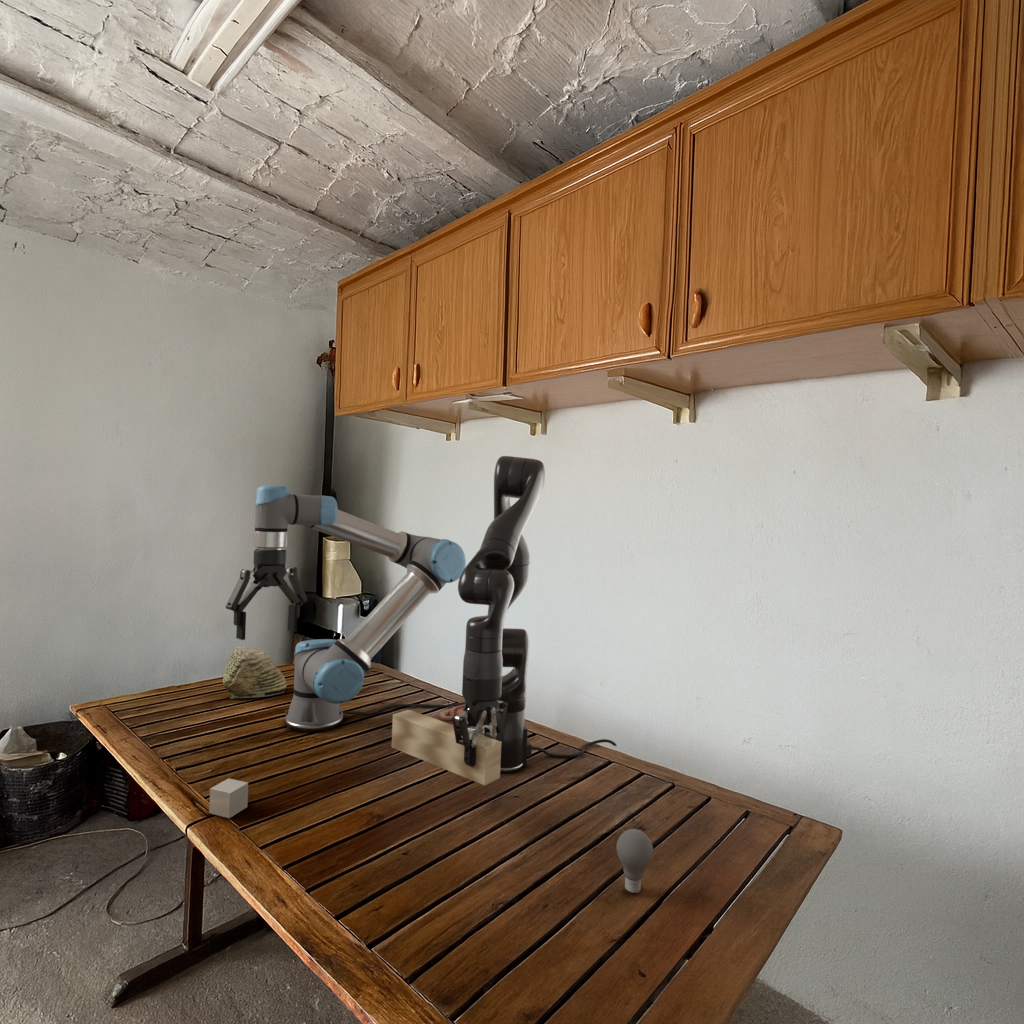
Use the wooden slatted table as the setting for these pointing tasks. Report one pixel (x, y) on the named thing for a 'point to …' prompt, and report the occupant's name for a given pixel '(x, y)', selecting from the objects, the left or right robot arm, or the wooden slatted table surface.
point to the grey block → (228, 798)
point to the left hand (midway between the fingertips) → (267, 635)
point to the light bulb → (634, 857)
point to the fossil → (252, 674)
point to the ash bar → (444, 746)
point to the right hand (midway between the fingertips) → (478, 760)
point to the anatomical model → (448, 714)
